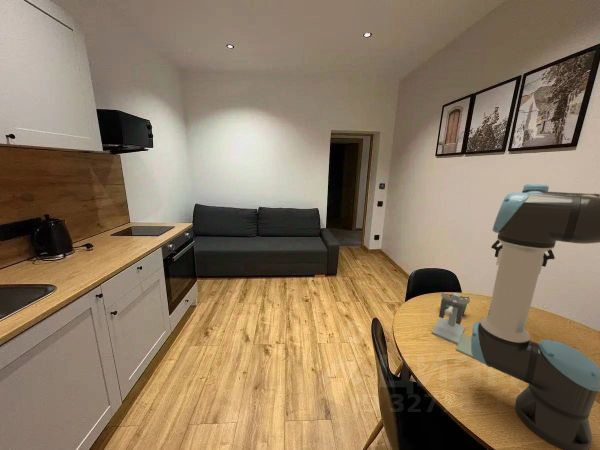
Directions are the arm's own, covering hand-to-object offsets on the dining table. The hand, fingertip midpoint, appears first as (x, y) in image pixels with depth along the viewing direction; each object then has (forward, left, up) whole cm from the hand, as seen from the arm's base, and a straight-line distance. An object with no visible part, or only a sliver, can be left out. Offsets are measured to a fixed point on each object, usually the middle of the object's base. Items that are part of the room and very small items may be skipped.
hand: (517, 268), depth 106 cm
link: (-26, +18, -21) cm, 38 cm away
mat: (-29, +8, -28) cm, 41 cm away
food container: (-8, +19, -28) cm, 35 cm away
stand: (-24, +18, -28) cm, 41 cm away
